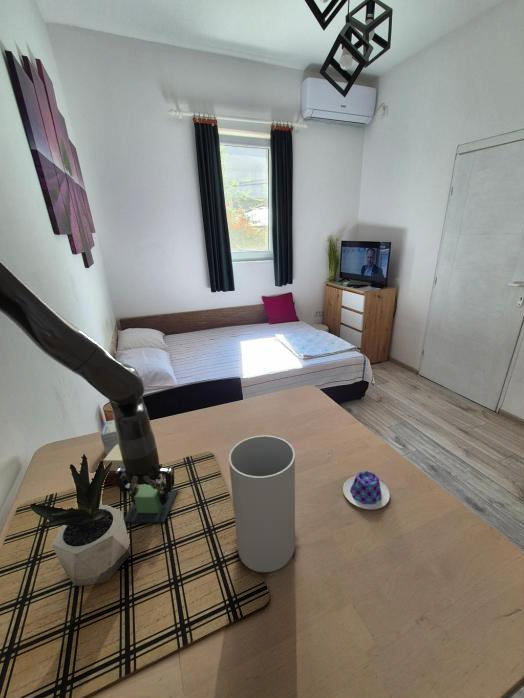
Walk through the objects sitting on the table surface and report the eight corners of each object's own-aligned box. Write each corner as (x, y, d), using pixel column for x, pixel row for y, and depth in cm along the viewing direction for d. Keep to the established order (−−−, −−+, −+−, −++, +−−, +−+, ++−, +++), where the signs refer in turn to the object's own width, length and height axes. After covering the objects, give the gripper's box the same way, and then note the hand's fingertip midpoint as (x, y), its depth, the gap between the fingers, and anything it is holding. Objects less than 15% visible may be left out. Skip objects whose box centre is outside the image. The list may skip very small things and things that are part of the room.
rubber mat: (122, 522, 78) (122, 521, 77) (141, 491, 87) (140, 490, 87) (164, 523, 77) (163, 521, 77) (178, 492, 87) (177, 490, 86)
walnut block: (103, 484, 89) (100, 473, 88) (119, 463, 98) (117, 452, 96) (136, 484, 89) (133, 473, 88) (149, 463, 98) (147, 452, 96)
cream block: (105, 470, 89) (103, 460, 87) (118, 454, 95) (116, 444, 94) (131, 470, 89) (128, 460, 87) (142, 454, 95) (140, 444, 94)
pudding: (333, 486, 88) (334, 471, 86) (368, 472, 93) (370, 457, 91) (362, 518, 78) (364, 502, 76) (399, 500, 83) (402, 484, 81)
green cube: (137, 512, 80) (133, 497, 78) (146, 497, 84) (142, 482, 82) (157, 513, 80) (154, 497, 78) (165, 497, 84) (162, 482, 82)
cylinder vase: (304, 537, 73) (306, 447, 64) (275, 586, 64) (271, 487, 54) (259, 515, 79) (254, 429, 70) (226, 556, 69) (214, 462, 60)
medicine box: (122, 455, 101) (116, 431, 98) (106, 458, 100) (100, 435, 96) (124, 441, 108) (118, 418, 104) (109, 444, 106) (103, 421, 103)
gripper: (174, 438, 78) (184, 491, 85) (116, 438, 79) (129, 491, 85) (163, 458, 71) (174, 514, 78) (98, 458, 72) (115, 514, 78)
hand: (151, 502), depth 82 cm, fingers open, 6 cm apart
